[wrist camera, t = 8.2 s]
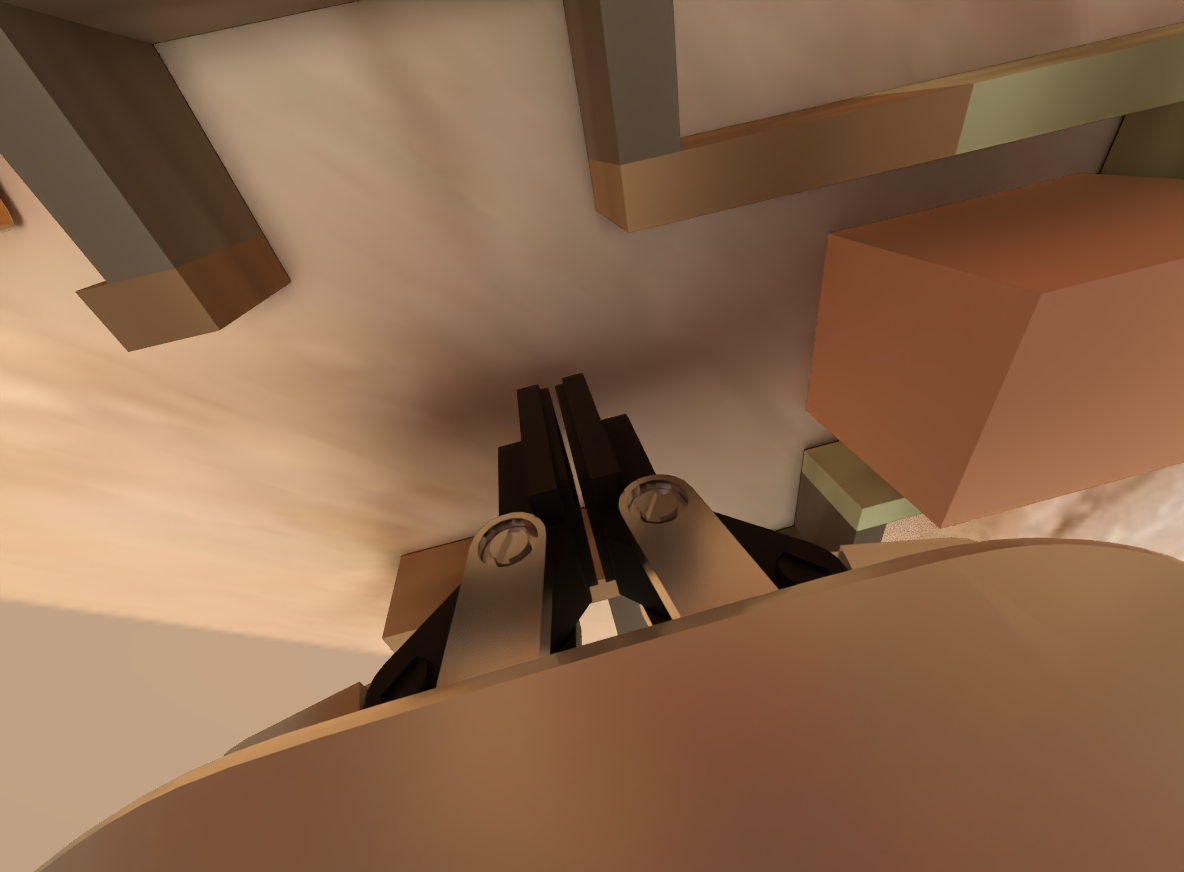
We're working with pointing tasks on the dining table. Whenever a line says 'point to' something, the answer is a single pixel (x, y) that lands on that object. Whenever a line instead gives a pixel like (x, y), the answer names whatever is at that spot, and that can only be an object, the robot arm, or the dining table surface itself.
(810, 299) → the dining table surface
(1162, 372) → the block
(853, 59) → the dining table surface
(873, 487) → the angular zigzag bar chain
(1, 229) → the small box
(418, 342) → the dining table surface
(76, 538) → the dining table surface
